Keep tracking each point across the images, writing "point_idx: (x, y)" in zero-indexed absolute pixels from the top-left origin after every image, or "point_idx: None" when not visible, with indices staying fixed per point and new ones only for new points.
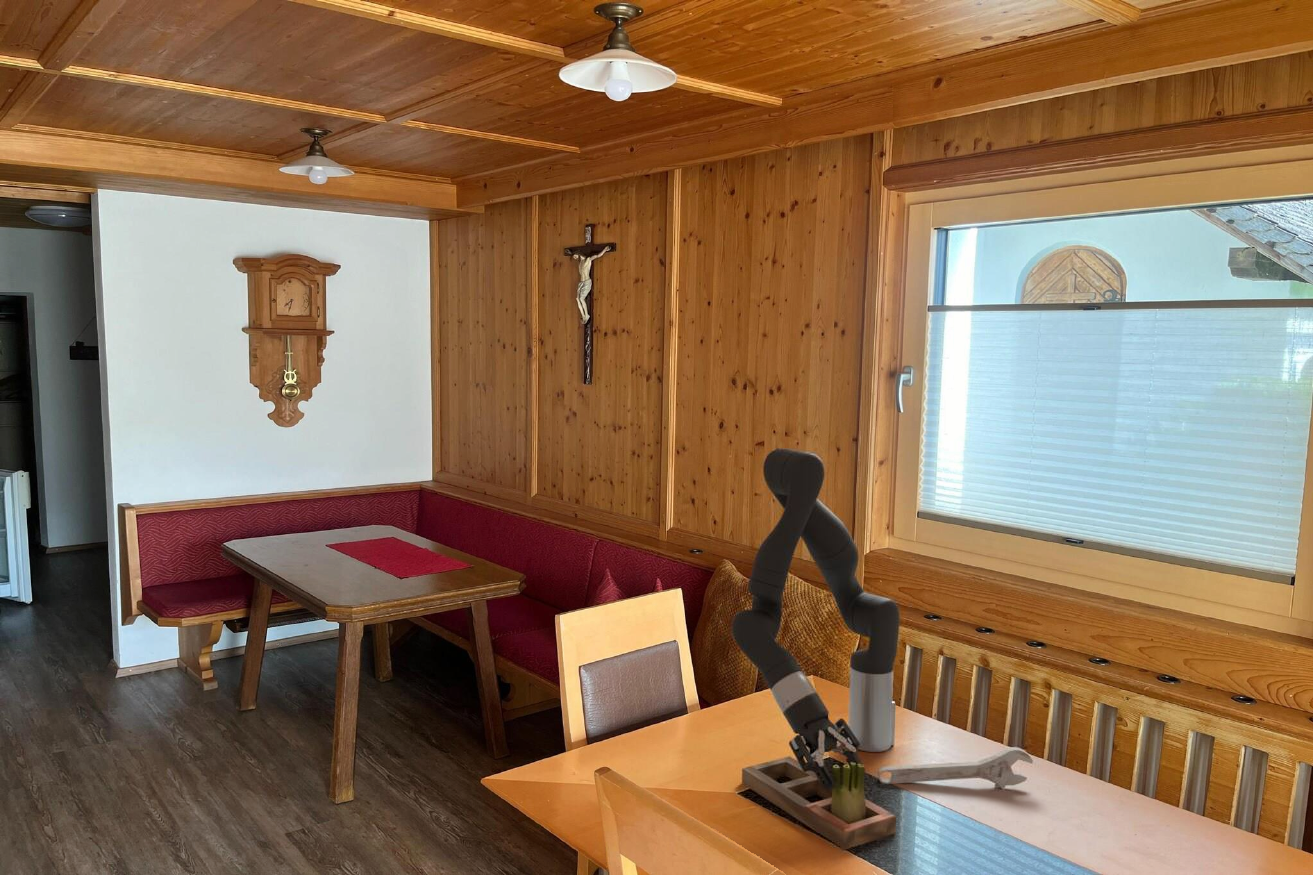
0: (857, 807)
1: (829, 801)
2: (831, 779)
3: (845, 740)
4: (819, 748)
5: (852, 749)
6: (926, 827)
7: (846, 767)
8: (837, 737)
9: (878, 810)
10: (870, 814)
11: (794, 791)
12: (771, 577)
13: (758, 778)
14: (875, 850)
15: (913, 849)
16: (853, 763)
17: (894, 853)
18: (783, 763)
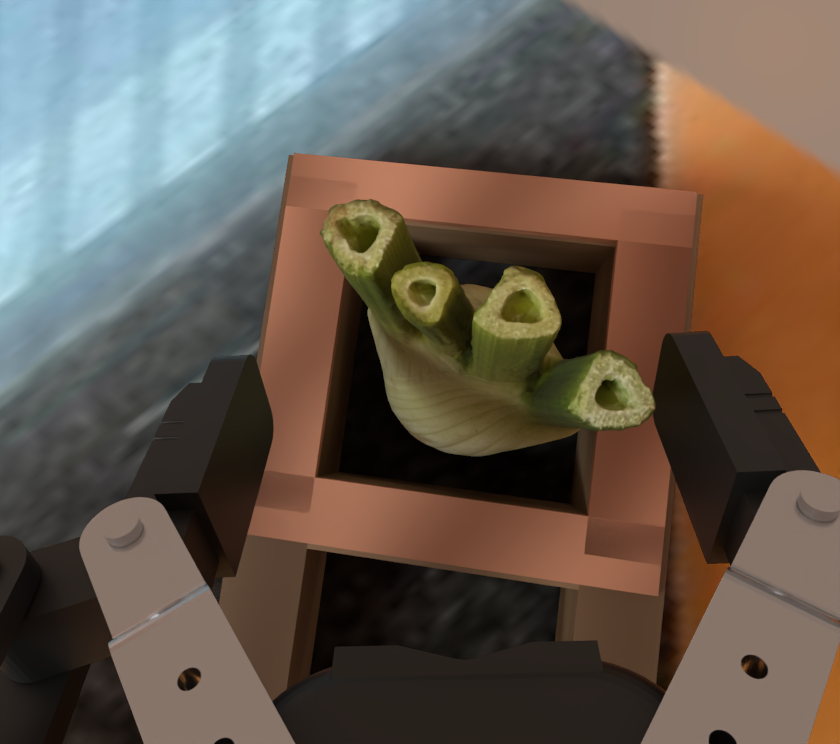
0: (465, 287)
1: (475, 527)
2: (709, 360)
3: (150, 631)
4: (815, 656)
5: (144, 528)
6: (139, 143)
7: (546, 290)
8: (252, 727)
9: (319, 252)
10: (347, 303)
11: None
12: None
13: None
14: (538, 138)
15: (376, 41)
16: (412, 295)
17: (483, 67)
18: None
